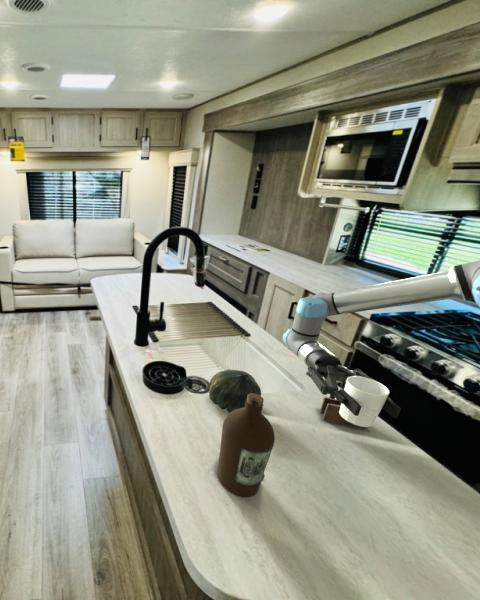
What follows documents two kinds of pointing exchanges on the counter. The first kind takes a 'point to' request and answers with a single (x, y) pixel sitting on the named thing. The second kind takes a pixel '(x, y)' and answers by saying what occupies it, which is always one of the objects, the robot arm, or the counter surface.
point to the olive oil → (245, 448)
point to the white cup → (364, 400)
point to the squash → (232, 389)
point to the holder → (333, 412)
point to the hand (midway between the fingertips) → (377, 412)
